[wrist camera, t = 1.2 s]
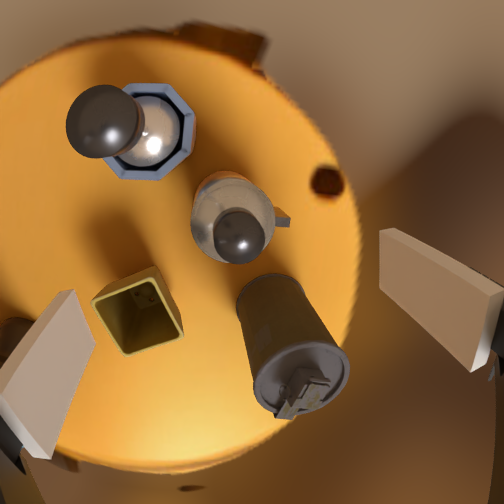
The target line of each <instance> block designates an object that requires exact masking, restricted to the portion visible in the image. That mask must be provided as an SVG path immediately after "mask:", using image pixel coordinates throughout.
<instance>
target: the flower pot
mask: <svg viewBox="0 0 504 504" xmlns="http://www.w3.org/2000/svg"><path fill="white" fill-rule="evenodd" d="M135 292H138V293H139V295H135ZM150 298H153V301H150ZM91 305H92V307H93V309H94V311H95V313H96V314H97V316H98V317H99V319H100V321H101V322H102V324H103V326H104V327H105V329H106V330H107V332H108V334H109V335H110V337H111V338H112V340H113V342H114V343H115V345H116V346H117V348H118V349H119V351H120V352H121V354H122V355H123V356H124V357H129V356H132V355H135V354H138V353H141V352H144V351H146V350H149V349H152V348H155V347H158V346H161V345H165V344H168V343H171V342H174V341H177V340H180V339H182V338H183V337H184V332H183V326H182V320H181V315H180V312H179V309H178V307H177V306H176V304H175V302H174V300H173V298H172V296H171V294H170V292H169V290H168V288H167V286H166V284H165V282H164V280H163V278H162V276H161V273H160V271H159V269H158V268H157V267H156V266H152V267H149V268H147V269H145V270H142V271H140V272H137V273H135V274H132V275H130V276H128V277H125V278H122V279H120V280H117V281H115V282H112V283H110V284H108V285H107V286H106V287H104V288H103V289H102V290H101V291H100V292H99V293H98V294H97V295H96V296H95V297H94V298H93V299H92V300H91Z"/></svg>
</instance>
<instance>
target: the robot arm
mask: <svg viewBox="0 0 504 504" xmlns="http://www.w3.org/2000/svg"><path fill="white" fill-rule="evenodd" d="M379 288H380V289H381V290H382V291H383V292H384V293H386V294H387V295H388V296H389V297H390V298H391V299H392V300H394V301H395V302H396V303H397V304H398V305H399V306H400V307H401V308H402V309H404V310H405V311H406V312H407V313H408V314H409V315H410V316H411V317H412V318H413V319H415V320H416V321H417V322H418V323H419V324H420V325H421V326H422V327H423V328H425V330H427V331H428V332H429V333H430V334H431V335H432V336H433V337H434V338H435V339H436V340H437V341H438V342H439V343H440V344H441V345H443V346H444V347H445V348H446V349H447V350H448V351H449V352H450V353H451V354H452V355H453V356H454V357H455V358H456V359H457V360H458V361H459V362H460V363H461V364H462V365H463V366H464V367H465V368H466V369H467V370H468V371H469V372H472V371H474V370H476V369H477V368H479V367H481V366H483V365H485V364H486V362H487V359H488V356H489V352H490V349H492V350H493V351H494V352H496V353H497V355H496V358H495V361H494V364H493V367H492V370H491V373H490V375H489V379H488V381H491V379H492V377H493V375H494V374H495V387H496V429H495V448H494V449H495V450H494V461H493V471H492V479H491V486H490V493H489V500H488V504H504V287H503V286H502V285H500V284H498V283H497V282H495V281H493V280H492V279H489V278H488V277H487V276H485V275H481V273H480V272H478V271H476V270H474V269H473V268H471V267H467V266H465V265H463V264H462V263H460V262H458V261H456V260H454V259H452V258H451V257H449V256H447V255H445V254H443V253H442V252H440V251H438V250H436V249H434V248H432V247H430V246H428V245H427V244H425V243H423V242H421V241H419V240H417V239H415V238H413V237H411V236H409V235H407V234H405V233H403V232H401V231H399V230H397V229H395V228H391V229H386V230H381V231H380V286H379ZM95 345H96V343H95V341H94V338H93V336H92V334H91V331H90V329H89V326H88V324H87V322H86V319H85V317H84V314H83V312H82V309H81V306H80V304H79V301H78V299H77V296H76V293H75V290H74V289H72V290H67V291H62V292H59V293H58V294H57V296H56V297H55V298H54V299H53V300H52V302H51V303H50V304H49V305H48V307H47V308H46V309H45V310H44V312H43V313H42V314H41V315H40V317H39V318H38V319H37V320H36V322H35V323H34V322H32V321H29V320H27V319H23V318H10V319H7V320H6V321H4V322H3V323H2V324H1V325H0V504H45V502H44V500H43V498H42V496H41V493H40V491H39V489H38V487H37V485H36V483H35V481H34V478H33V476H32V474H31V471H30V469H29V467H28V464H27V462H26V460H25V458H24V457H23V456H22V455H21V454H20V451H21V449H22V448H23V447H25V448H26V449H27V451H28V452H29V453H30V454H31V455H32V456H33V457H36V458H44V459H51V457H52V454H53V451H54V448H55V445H56V443H57V440H58V437H59V434H60V431H61V428H62V426H63V423H64V420H65V417H66V415H67V412H68V409H69V407H70V404H71V402H72V399H73V397H74V394H75V392H76V389H77V387H78V384H79V382H80V379H81V377H82V375H83V372H84V370H85V367H86V365H87V363H88V360H89V358H90V356H91V354H92V351H93V349H94V347H95Z"/></svg>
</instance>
